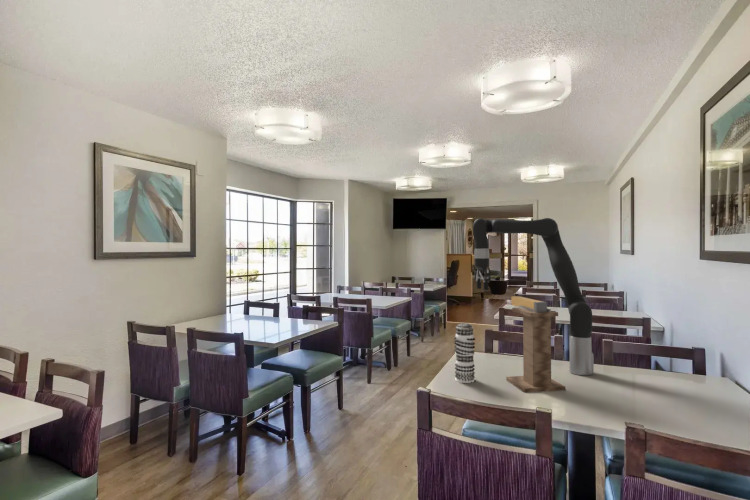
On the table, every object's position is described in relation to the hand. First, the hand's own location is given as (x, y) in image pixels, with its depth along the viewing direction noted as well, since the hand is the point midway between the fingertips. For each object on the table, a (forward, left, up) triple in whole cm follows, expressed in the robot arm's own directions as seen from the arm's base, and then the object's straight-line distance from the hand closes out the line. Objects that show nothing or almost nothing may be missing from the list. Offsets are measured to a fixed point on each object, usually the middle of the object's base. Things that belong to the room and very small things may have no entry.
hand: (482, 289), depth 211 cm
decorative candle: (+19, +25, -38) cm, 49 cm away
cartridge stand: (-8, +36, -38) cm, 53 cm away
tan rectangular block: (-8, +30, -6) cm, 32 cm away
